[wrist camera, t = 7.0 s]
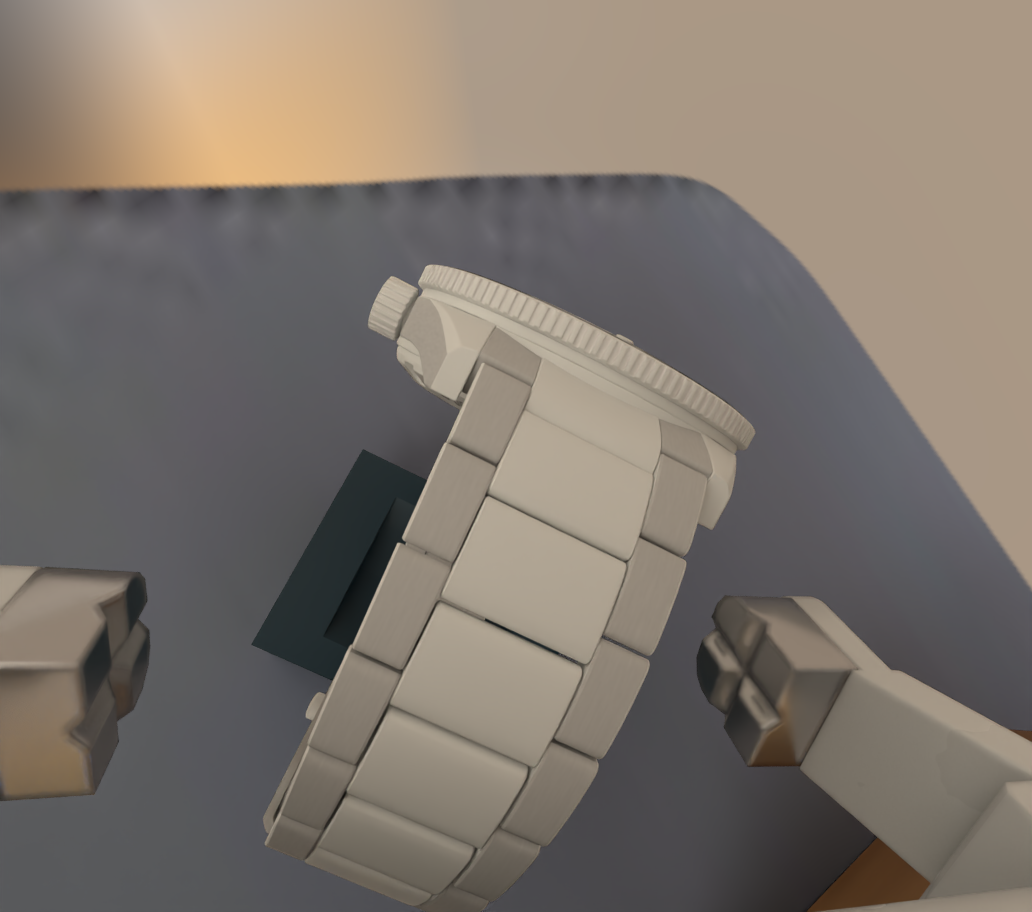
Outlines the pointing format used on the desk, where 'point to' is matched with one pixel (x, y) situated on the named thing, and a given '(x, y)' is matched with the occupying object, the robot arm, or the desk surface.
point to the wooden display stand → (877, 877)
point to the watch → (490, 593)
